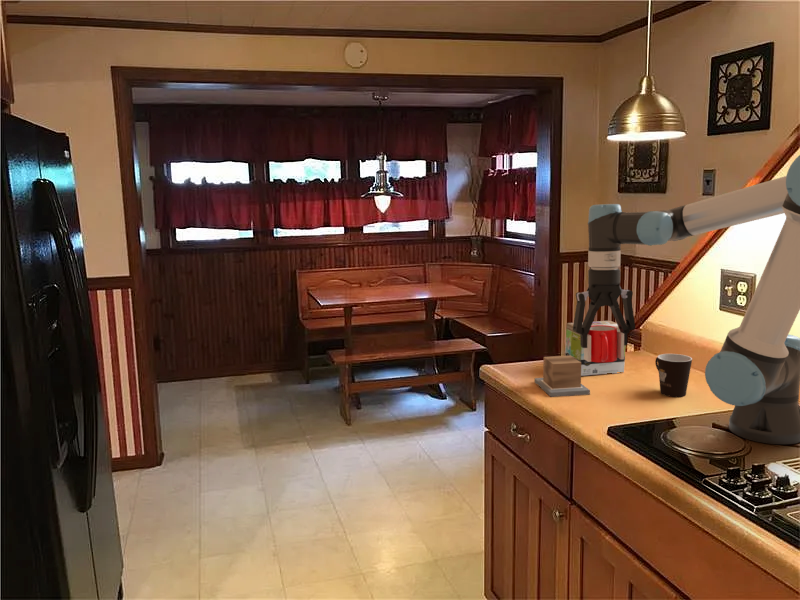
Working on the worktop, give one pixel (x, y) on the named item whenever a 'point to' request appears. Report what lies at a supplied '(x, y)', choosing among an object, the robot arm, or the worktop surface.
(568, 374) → the walnut block
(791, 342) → the robot arm
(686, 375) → the coffee mug
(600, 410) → the worktop surface
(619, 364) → the tea box
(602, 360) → the mug
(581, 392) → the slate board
